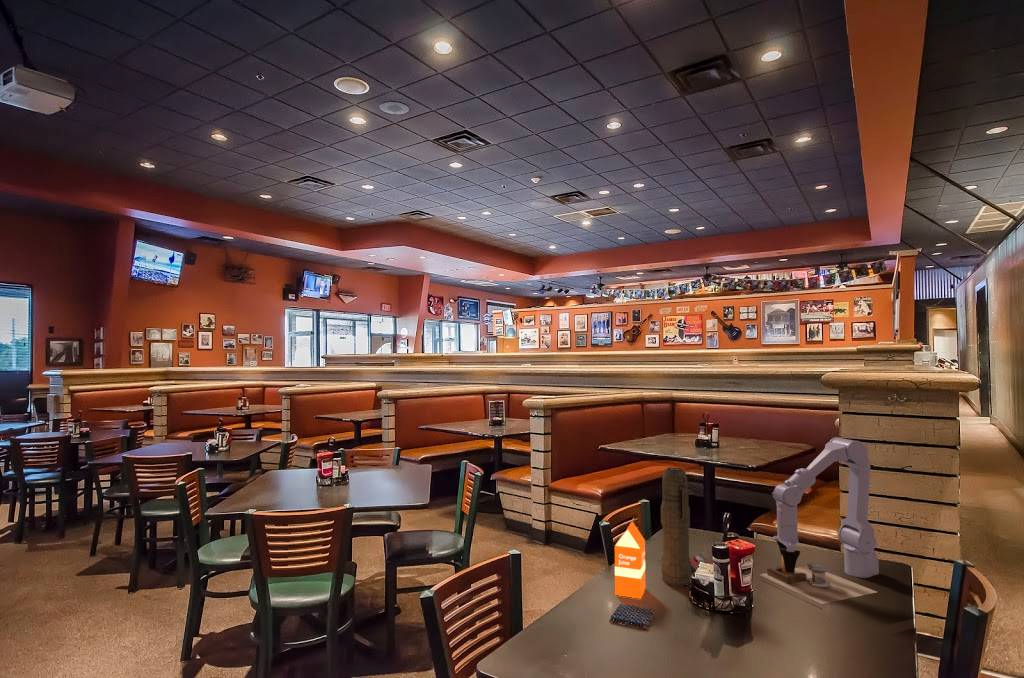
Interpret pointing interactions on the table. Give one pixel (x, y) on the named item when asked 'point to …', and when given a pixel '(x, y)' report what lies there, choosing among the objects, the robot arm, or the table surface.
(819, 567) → the bobbin
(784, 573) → the peg
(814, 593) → the jig board
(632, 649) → the table surface
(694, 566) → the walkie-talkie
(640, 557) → the orange juice
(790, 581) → the notch block
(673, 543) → the thermos
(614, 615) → the woven mat
